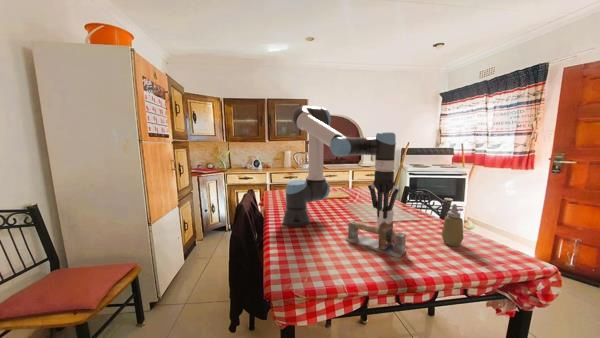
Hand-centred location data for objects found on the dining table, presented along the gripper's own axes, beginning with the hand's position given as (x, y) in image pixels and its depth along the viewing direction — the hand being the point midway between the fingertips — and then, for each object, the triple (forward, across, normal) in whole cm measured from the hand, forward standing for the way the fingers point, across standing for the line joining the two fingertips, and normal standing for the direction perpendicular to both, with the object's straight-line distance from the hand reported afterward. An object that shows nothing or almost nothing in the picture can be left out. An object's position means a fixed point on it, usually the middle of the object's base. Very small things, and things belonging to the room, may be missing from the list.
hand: (381, 225), depth 95 cm
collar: (+9, +2, 0) cm, 9 cm away
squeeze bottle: (+10, +22, +24) cm, 34 cm away
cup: (+10, -5, +16) cm, 20 cm away
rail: (+10, -3, 0) cm, 10 cm away
